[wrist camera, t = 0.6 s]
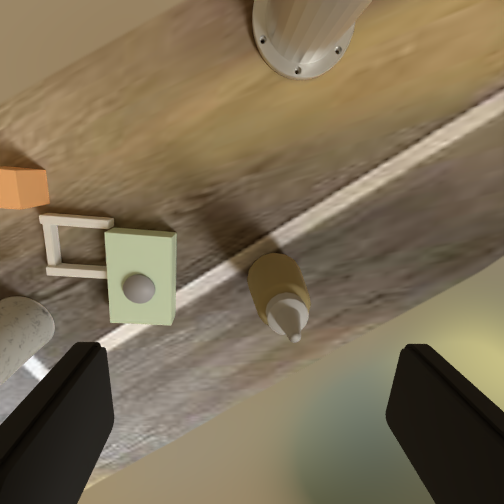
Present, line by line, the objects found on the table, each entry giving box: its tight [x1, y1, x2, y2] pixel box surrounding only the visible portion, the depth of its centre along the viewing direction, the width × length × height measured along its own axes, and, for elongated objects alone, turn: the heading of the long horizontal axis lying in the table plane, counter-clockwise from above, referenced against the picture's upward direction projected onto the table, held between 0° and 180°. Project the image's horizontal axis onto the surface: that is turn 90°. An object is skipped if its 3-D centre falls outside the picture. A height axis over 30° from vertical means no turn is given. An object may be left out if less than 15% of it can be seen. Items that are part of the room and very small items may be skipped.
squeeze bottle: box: [247, 253, 311, 343], centre depth 35 cm, size 8×8×18 cm
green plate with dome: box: [39, 213, 177, 325], centre depth 40 cm, size 15×18×4 cm
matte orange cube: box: [0, 167, 50, 210], centre depth 35 cm, size 5×5×6 cm
